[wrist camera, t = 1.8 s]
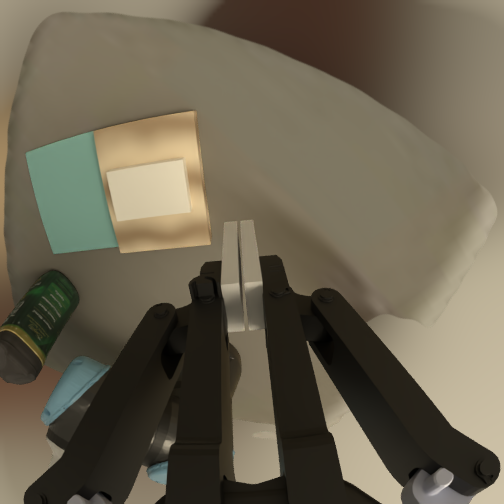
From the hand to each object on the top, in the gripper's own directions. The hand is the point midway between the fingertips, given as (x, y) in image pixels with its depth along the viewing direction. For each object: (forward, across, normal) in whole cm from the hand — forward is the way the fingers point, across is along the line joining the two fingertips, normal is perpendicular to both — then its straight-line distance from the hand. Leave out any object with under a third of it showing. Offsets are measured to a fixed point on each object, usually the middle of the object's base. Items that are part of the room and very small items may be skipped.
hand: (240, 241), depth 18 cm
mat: (+18, +23, 0) cm, 29 cm away
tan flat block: (+18, +10, 0) cm, 21 cm away
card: (+16, +10, 0) cm, 19 cm away
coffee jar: (+19, +32, +15) cm, 40 cm away
